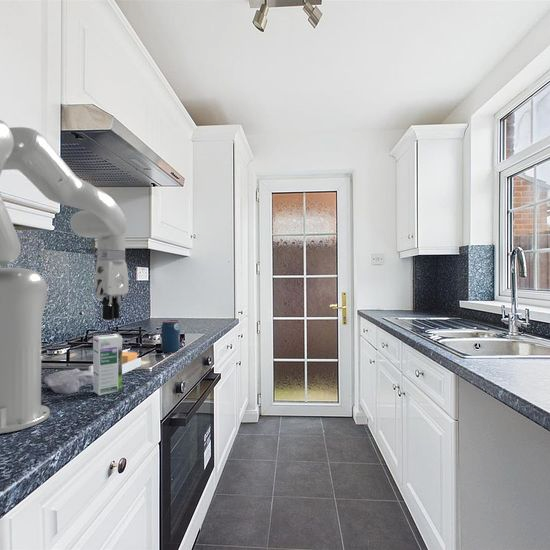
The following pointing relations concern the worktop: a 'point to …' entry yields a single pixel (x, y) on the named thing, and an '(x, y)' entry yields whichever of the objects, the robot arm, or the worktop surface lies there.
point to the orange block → (128, 357)
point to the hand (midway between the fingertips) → (111, 318)
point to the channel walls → (126, 365)
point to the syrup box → (107, 363)
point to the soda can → (170, 336)
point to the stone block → (69, 380)
